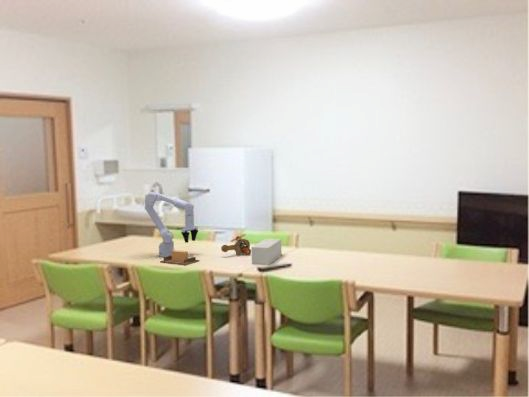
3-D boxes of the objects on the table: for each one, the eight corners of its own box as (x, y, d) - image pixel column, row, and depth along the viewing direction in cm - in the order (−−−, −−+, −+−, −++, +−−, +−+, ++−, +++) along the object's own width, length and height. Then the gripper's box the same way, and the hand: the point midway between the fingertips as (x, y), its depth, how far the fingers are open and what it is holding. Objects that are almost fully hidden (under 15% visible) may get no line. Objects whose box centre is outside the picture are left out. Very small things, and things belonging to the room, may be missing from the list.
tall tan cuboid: (171, 260, 355) (171, 251, 354) (175, 259, 358) (175, 250, 357) (184, 261, 350) (184, 252, 349) (187, 260, 353) (187, 251, 352)
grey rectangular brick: (266, 254, 376) (265, 238, 375) (281, 255, 373) (281, 239, 372) (251, 264, 345) (251, 247, 344) (268, 265, 342) (268, 247, 341)
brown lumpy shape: (252, 254, 373) (252, 234, 372) (225, 258, 362) (224, 237, 361) (246, 253, 380) (246, 232, 379) (219, 256, 369) (218, 235, 368)
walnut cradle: (160, 262, 353) (159, 257, 353) (174, 258, 365) (174, 253, 365) (185, 265, 343) (185, 260, 343) (199, 261, 355) (199, 256, 355)
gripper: (187, 222, 363) (188, 243, 364) (201, 220, 375) (201, 240, 377) (179, 222, 366) (179, 242, 368) (192, 219, 379) (193, 239, 380)
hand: (190, 241), depth 372 cm, fingers open, 7 cm apart
